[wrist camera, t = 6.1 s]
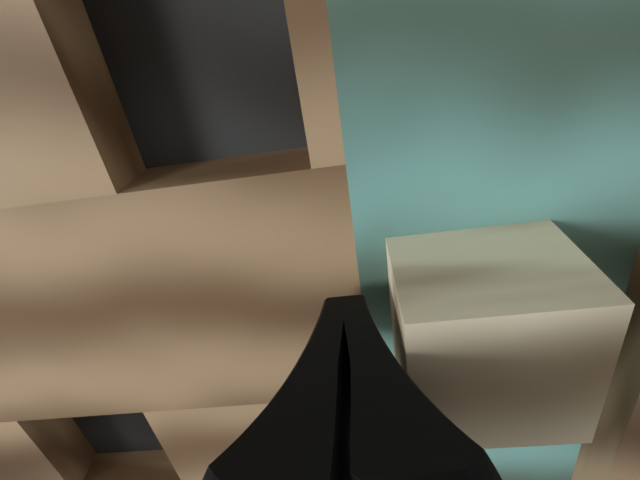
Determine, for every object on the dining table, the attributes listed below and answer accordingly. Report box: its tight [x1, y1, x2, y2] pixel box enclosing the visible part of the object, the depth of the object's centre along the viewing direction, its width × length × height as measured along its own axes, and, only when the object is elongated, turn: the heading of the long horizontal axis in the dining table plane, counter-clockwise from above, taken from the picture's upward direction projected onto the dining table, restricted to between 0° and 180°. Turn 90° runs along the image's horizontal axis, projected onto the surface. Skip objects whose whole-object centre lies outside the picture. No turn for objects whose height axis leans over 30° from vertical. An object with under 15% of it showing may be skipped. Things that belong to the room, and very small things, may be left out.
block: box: [385, 220, 635, 449], centre depth 12 cm, size 5×5×4 cm
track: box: [0, 0, 640, 480], centre depth 15 cm, size 24×30×4 cm
